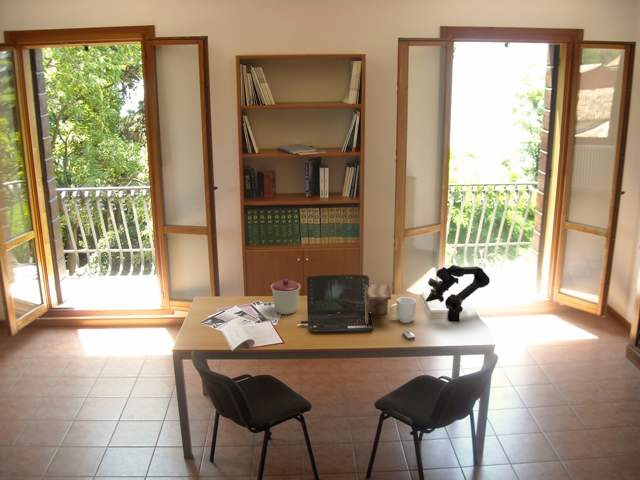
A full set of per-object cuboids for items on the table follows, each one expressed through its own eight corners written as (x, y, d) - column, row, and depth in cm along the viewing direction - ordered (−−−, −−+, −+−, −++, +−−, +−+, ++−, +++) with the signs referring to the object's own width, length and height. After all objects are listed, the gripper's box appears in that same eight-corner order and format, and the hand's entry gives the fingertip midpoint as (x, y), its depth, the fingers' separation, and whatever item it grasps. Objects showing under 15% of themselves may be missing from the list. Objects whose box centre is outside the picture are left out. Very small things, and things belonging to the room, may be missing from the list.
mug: (390, 324, 356) (391, 303, 352) (389, 316, 366) (389, 296, 362) (415, 324, 355) (416, 304, 351) (413, 317, 366) (414, 297, 362)
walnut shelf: (387, 312, 371) (388, 284, 366) (389, 326, 352) (390, 297, 347) (364, 312, 372) (365, 284, 367) (365, 326, 353) (366, 296, 347)
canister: (302, 306, 381) (302, 274, 375) (298, 317, 364) (298, 284, 358) (274, 304, 383) (273, 273, 377) (268, 316, 365) (268, 283, 359)
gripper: (434, 269, 361) (414, 286, 364) (439, 280, 343) (418, 298, 346) (446, 282, 363) (427, 298, 366) (452, 293, 345) (431, 311, 348)
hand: (426, 301), depth 357 cm, fingers closed
